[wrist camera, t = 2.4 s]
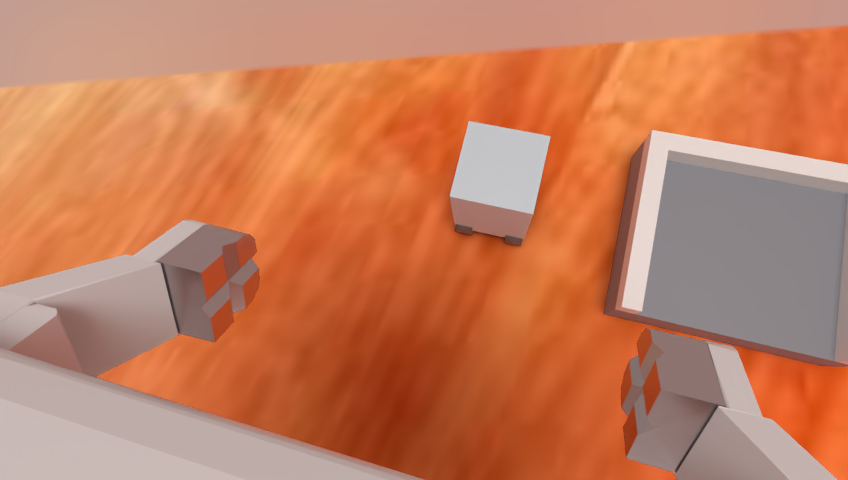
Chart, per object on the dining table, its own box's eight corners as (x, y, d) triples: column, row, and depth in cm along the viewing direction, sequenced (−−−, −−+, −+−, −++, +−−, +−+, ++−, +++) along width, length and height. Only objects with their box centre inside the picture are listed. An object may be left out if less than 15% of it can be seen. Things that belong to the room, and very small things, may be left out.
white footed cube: (454, 234, 37) (448, 201, 29) (471, 166, 38) (470, 116, 30) (520, 249, 36) (532, 219, 29) (536, 179, 37) (551, 131, 30)
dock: (603, 313, 35) (621, 306, 30) (632, 157, 37) (652, 129, 33) (822, 366, 32) (876, 366, 28) (837, 195, 35) (888, 172, 30)
